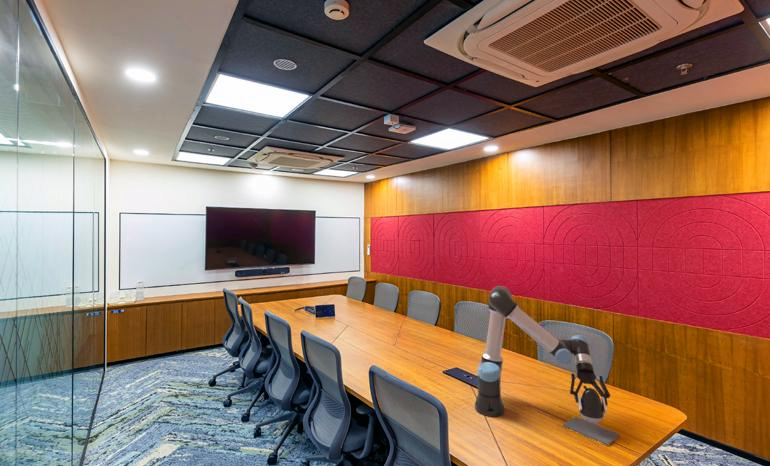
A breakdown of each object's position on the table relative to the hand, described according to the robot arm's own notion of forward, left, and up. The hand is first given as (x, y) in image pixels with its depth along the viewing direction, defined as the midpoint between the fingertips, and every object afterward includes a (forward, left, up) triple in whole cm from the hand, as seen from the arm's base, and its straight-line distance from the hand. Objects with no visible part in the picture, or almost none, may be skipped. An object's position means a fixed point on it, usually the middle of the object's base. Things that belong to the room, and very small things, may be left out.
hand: (593, 411), depth 164 cm
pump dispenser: (+2, +2, -6) cm, 7 cm away
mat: (+2, +2, -11) cm, 12 cm away
